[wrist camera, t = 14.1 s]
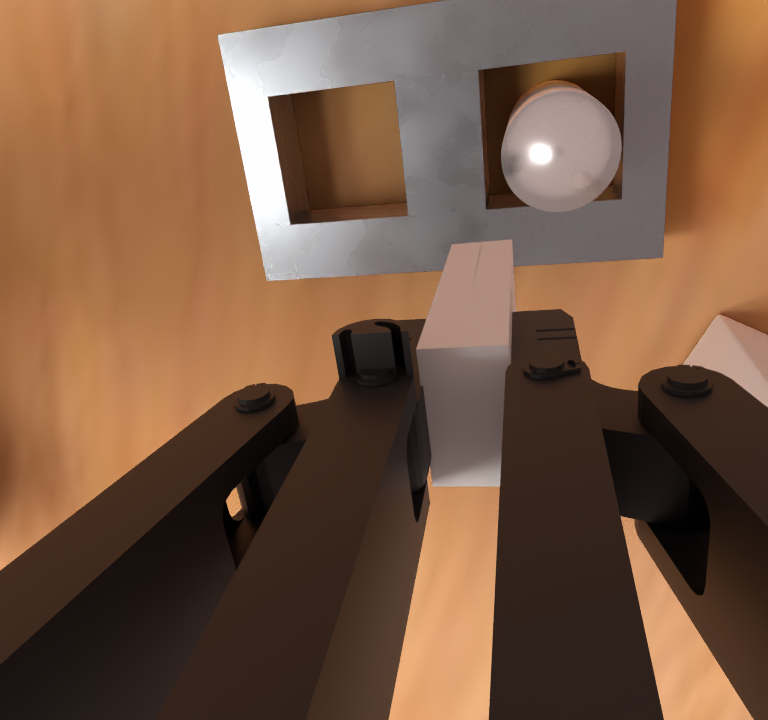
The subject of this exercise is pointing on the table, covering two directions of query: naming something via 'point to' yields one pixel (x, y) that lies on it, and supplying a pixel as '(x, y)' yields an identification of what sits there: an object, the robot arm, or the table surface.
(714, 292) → the table surface
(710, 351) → the milk carton
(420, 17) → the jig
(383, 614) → the robot arm
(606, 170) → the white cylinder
